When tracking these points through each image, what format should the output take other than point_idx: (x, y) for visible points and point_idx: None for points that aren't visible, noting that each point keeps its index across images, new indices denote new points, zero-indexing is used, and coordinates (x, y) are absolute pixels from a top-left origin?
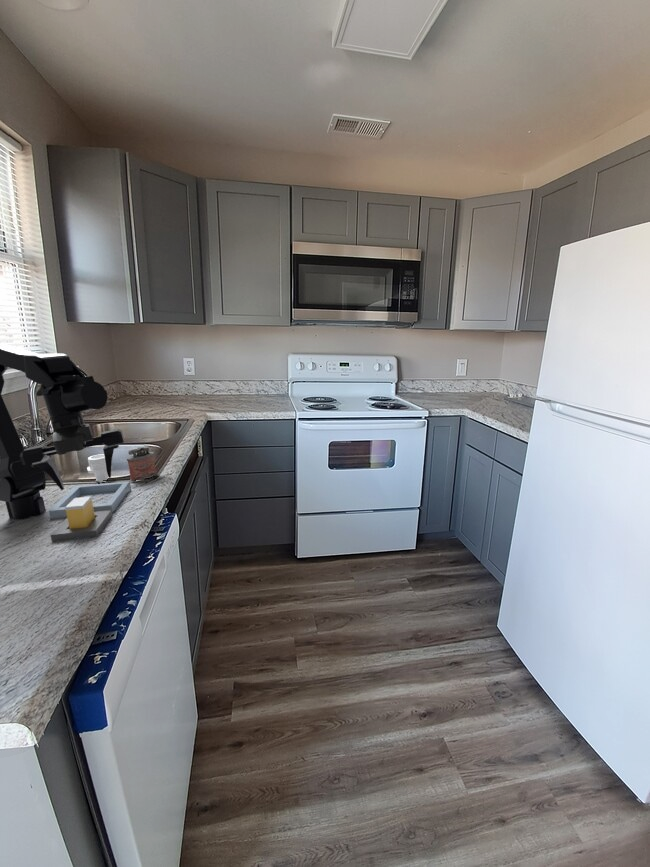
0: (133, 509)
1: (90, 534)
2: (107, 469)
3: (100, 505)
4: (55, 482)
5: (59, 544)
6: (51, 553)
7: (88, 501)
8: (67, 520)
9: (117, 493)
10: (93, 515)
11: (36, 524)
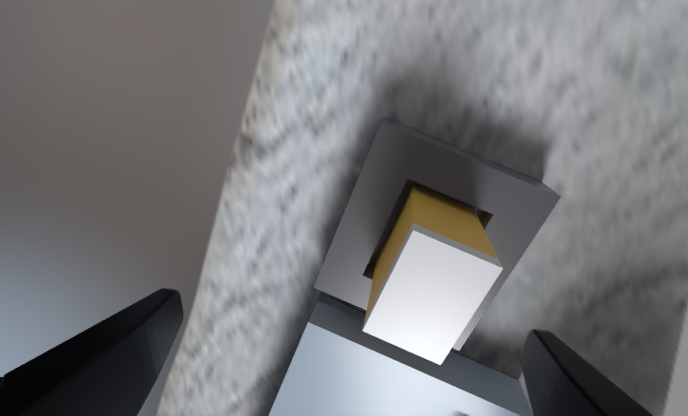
0: (254, 304)
1: (405, 130)
2: (112, 335)
3: (346, 345)
4: (626, 396)
5: None
6: (557, 111)
7: (380, 291)
8: None
9: (283, 410)
10: (377, 267)
11: None
